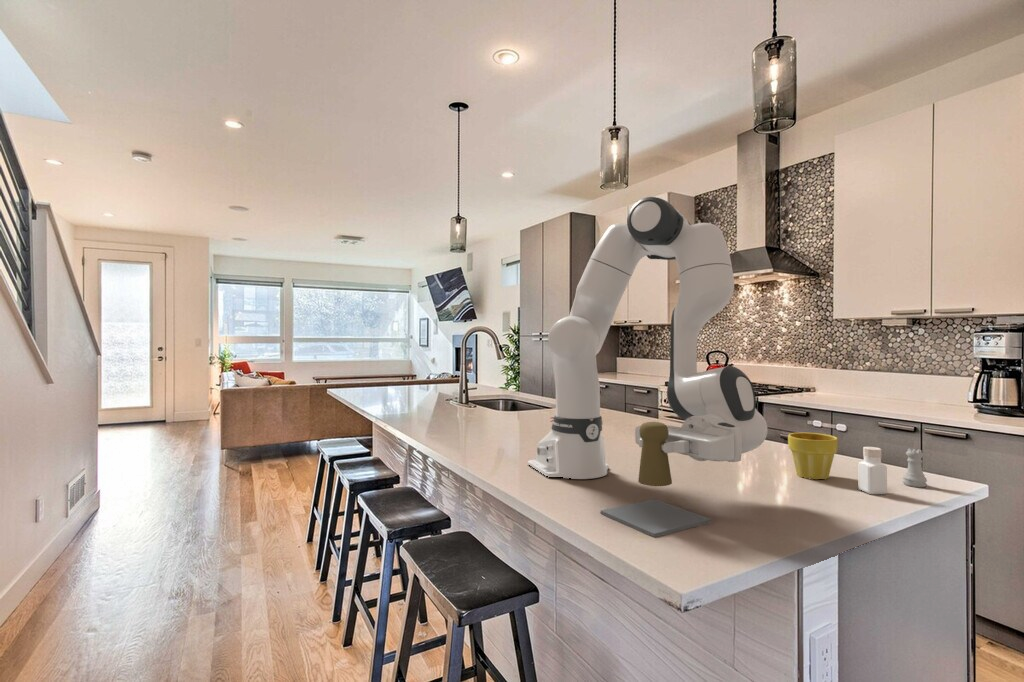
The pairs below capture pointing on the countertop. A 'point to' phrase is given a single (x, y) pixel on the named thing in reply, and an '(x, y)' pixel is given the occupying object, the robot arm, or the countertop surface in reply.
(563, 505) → the countertop surface
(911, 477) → the rook chess piece
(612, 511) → the plate
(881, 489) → the salt shaker
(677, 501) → the countertop surface
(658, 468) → the olive chess pawn
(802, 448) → the plant pot
